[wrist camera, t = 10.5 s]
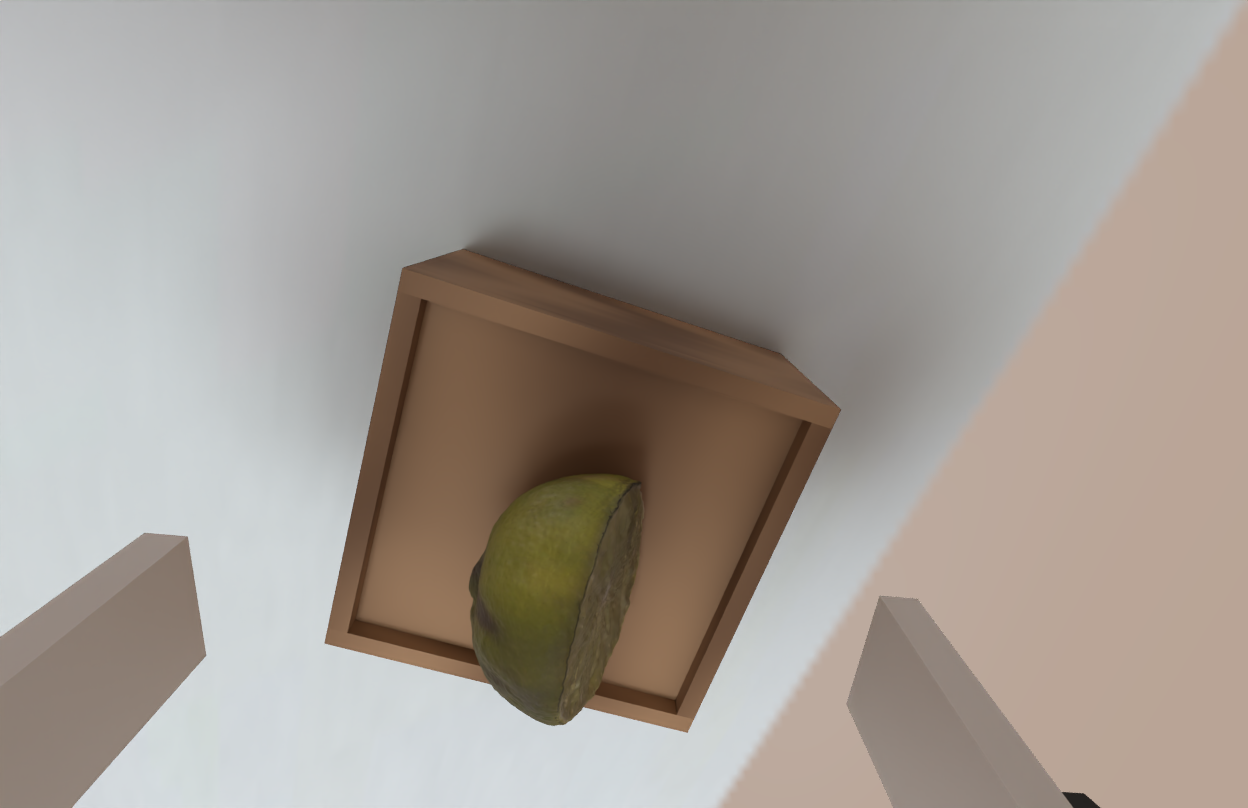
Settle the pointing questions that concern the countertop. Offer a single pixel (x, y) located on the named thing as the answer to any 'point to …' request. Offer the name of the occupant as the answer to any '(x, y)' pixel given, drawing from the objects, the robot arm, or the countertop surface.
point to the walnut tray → (570, 469)
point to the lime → (556, 591)
